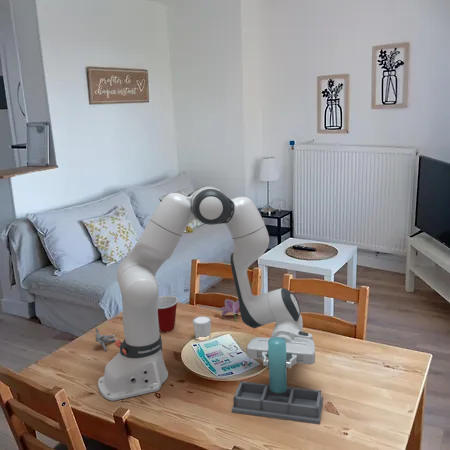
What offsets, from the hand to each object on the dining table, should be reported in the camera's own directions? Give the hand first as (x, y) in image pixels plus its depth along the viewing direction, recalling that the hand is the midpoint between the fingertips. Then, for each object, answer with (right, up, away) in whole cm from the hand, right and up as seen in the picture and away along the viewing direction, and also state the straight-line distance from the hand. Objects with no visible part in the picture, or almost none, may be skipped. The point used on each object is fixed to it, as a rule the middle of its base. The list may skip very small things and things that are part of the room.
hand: (277, 365), depth 140 cm
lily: (-11, +2, +61) cm, 63 cm away
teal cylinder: (+1, -7, +3) cm, 8 cm away
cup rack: (+1, -13, +4) cm, 14 cm away
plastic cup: (-38, -1, +55) cm, 67 cm away
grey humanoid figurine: (-60, -5, +44) cm, 75 cm away
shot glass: (-23, -3, +47) cm, 53 cm away
